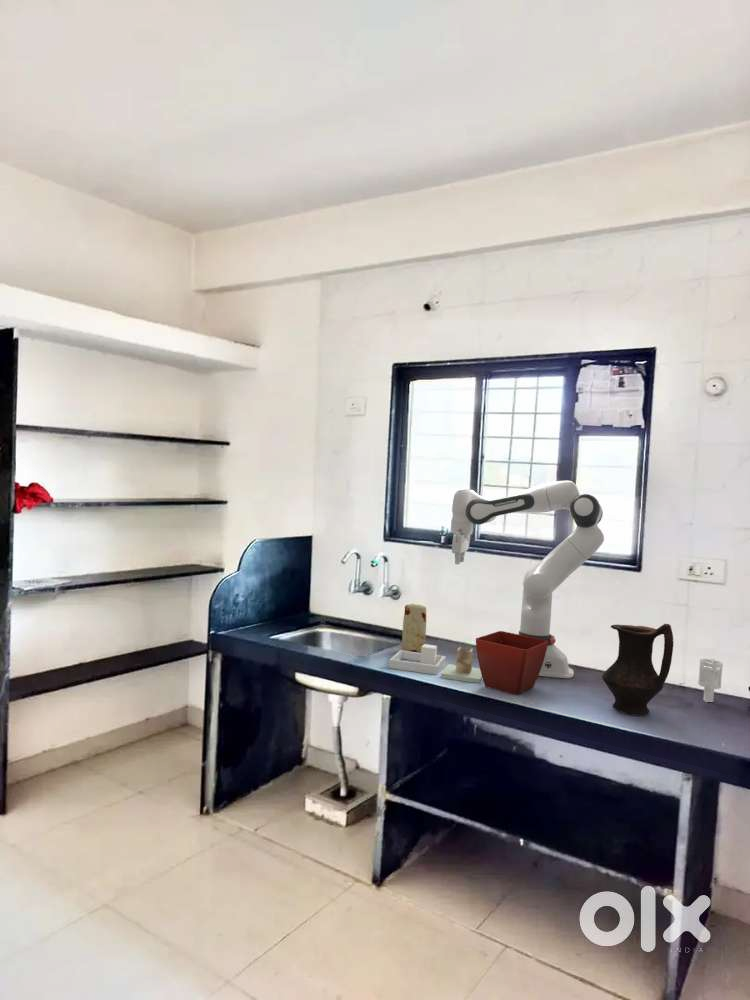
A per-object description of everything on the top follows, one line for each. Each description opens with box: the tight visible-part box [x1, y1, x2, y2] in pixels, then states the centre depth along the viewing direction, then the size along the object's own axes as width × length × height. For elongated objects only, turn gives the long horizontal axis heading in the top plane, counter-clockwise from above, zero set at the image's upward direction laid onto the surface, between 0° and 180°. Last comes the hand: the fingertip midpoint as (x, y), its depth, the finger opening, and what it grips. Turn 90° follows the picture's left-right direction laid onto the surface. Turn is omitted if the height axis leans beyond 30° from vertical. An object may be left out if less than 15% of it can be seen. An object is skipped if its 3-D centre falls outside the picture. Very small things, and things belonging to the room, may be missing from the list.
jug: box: [601, 623, 674, 716], centre depth 219 cm, size 21×18×30 cm
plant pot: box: [475, 630, 548, 696], centre depth 237 cm, size 19×19×17 cm
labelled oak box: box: [455, 646, 474, 674], centre depth 249 cm, size 5×5×8 cm
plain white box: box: [419, 643, 438, 665], centre depth 257 cm, size 5×5×8 cm
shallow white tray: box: [388, 649, 447, 676], centre depth 258 cm, size 18×16×3 cm
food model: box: [401, 603, 427, 653], centre depth 277 cm, size 10×7×20 cm
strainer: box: [697, 658, 724, 703], centre depth 236 cm, size 7×7×15 cm
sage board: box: [440, 663, 483, 684], centre depth 249 cm, size 14×14×2 cm
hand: (459, 563), depth 279 cm, fingers open, 8 cm apart
